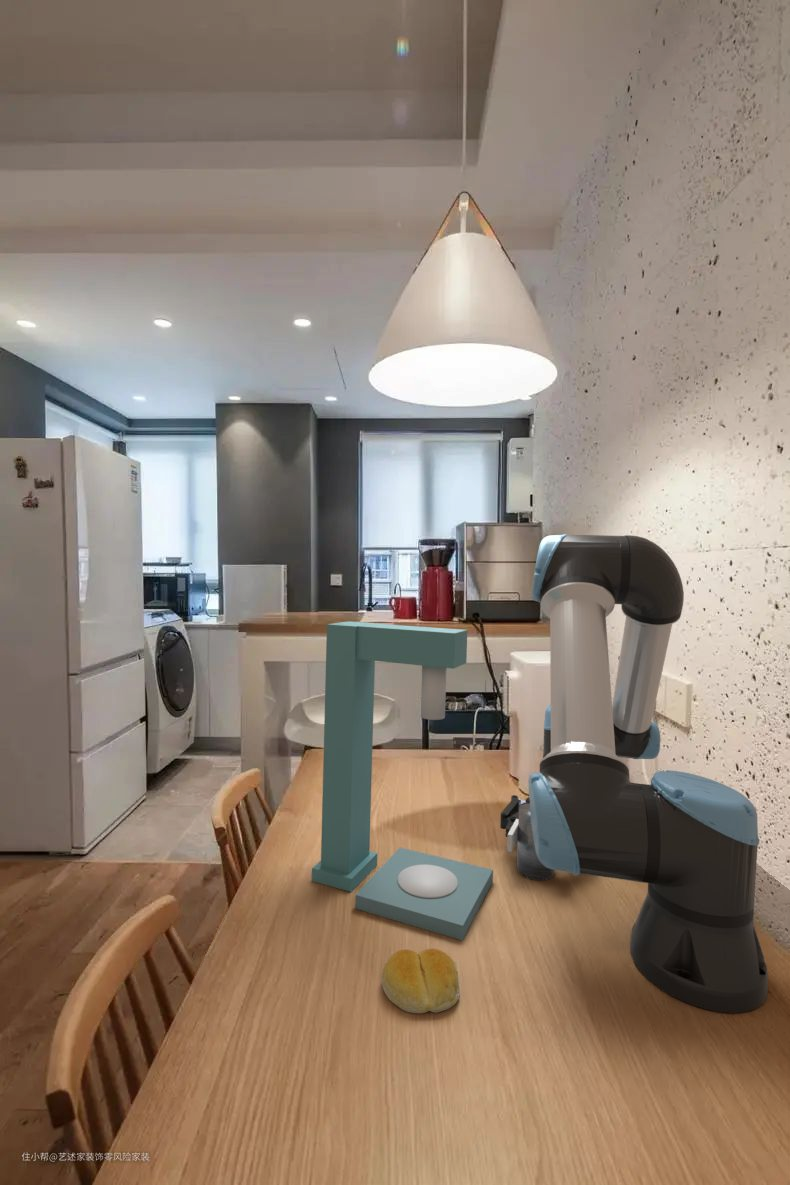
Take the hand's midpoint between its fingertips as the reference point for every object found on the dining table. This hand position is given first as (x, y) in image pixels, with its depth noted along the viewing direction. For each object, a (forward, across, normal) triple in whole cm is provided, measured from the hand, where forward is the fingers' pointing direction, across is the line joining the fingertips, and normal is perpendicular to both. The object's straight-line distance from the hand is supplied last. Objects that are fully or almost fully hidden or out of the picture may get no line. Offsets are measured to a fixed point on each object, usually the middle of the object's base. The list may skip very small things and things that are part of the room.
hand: (530, 847), depth 89 cm
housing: (-5, 0, -6) cm, 8 cm away
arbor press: (+10, +18, -6) cm, 21 cm away
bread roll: (+28, +7, -6) cm, 30 cm away
